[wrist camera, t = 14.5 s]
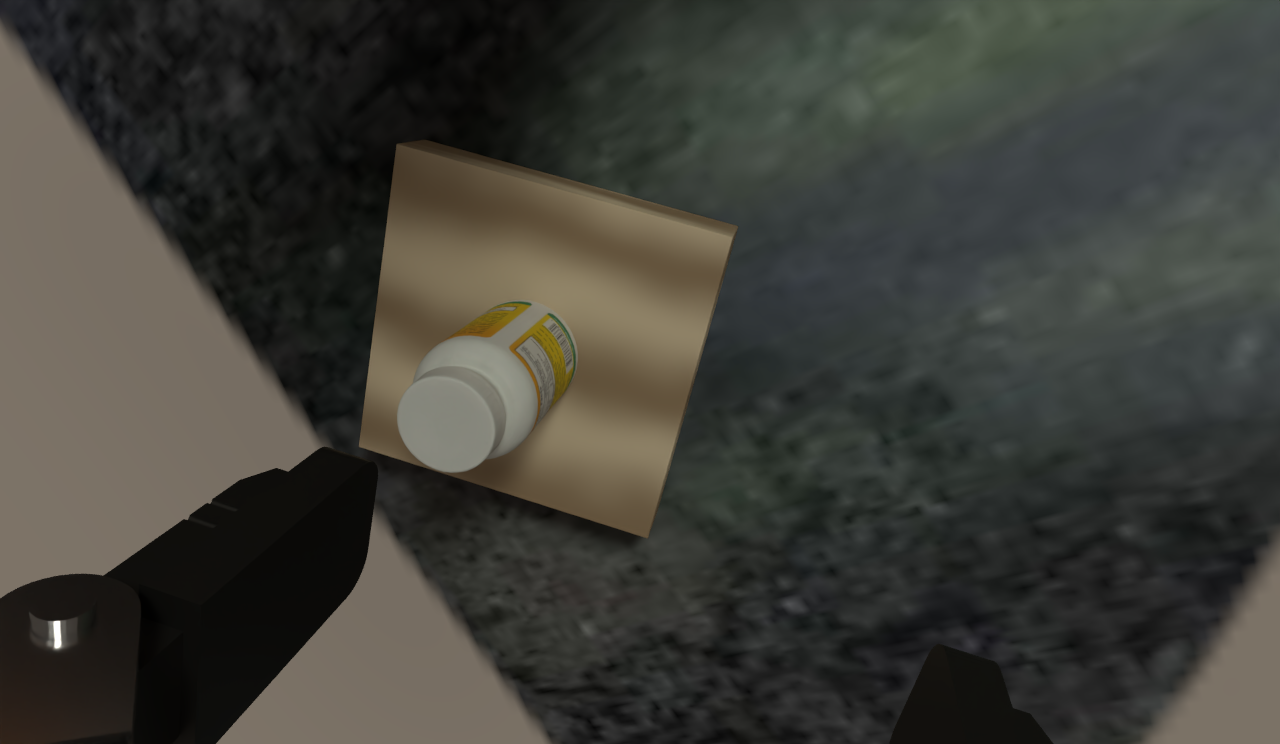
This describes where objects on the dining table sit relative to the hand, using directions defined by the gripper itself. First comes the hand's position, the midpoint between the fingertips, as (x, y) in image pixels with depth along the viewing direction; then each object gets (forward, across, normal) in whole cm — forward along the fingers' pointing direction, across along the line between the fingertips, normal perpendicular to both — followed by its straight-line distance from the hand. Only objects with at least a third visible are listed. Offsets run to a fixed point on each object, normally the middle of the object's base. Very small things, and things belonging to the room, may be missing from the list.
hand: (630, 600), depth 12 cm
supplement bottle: (+27, +9, +8) cm, 30 cm away
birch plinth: (+30, +9, +8) cm, 32 cm away
